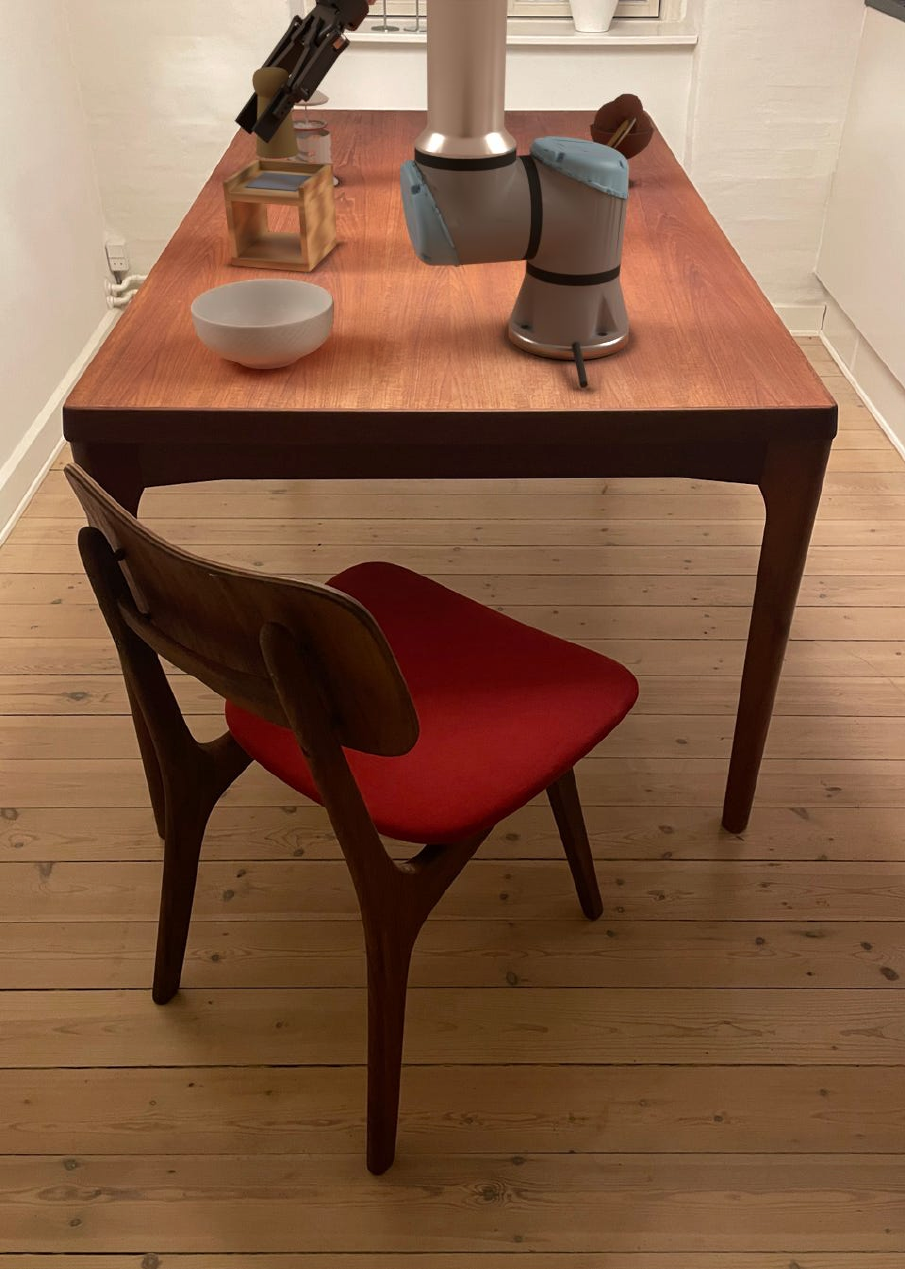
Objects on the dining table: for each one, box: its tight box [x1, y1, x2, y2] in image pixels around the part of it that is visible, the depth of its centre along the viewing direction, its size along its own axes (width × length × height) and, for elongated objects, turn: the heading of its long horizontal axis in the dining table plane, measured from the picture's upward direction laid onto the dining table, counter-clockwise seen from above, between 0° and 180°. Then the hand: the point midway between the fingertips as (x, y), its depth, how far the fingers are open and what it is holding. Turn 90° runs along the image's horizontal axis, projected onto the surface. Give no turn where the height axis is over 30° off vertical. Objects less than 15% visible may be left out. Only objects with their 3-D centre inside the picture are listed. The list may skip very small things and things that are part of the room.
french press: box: [286, 89, 339, 186], centre depth 192 cm, size 10×12×25 cm
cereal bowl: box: [190, 278, 335, 370], centre depth 135 cm, size 17×17×7 cm
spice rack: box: [222, 157, 338, 273], centre depth 164 cm, size 13×12×12 cm
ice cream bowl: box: [589, 93, 655, 188], centre depth 194 cm, size 11×11×15 cm
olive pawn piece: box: [251, 67, 299, 160], centre depth 156 cm, size 6×6×11 cm
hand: (251, 131), depth 155 cm, fingers closed on olive pawn piece, 5 cm apart
